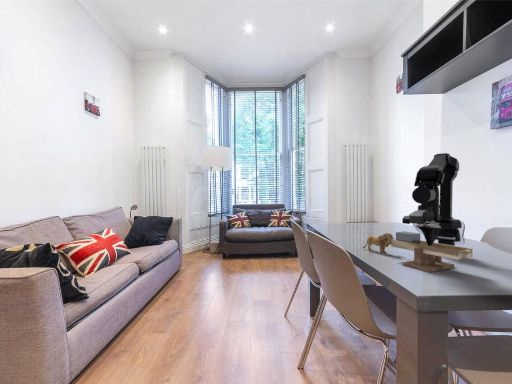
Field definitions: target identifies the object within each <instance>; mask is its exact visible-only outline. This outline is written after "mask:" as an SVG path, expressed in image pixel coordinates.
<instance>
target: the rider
mask: <svg viewBox="0 0 512 384" xmlns="http://www.w3.org/2000/svg"><path fill="white" fill-rule="evenodd" d="M395 240H398V241H404V242H410V243H416V244H421V241H422V240H421V233H418V232H411V231H397V232H395ZM420 240H421V241H420Z"/></svg>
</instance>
